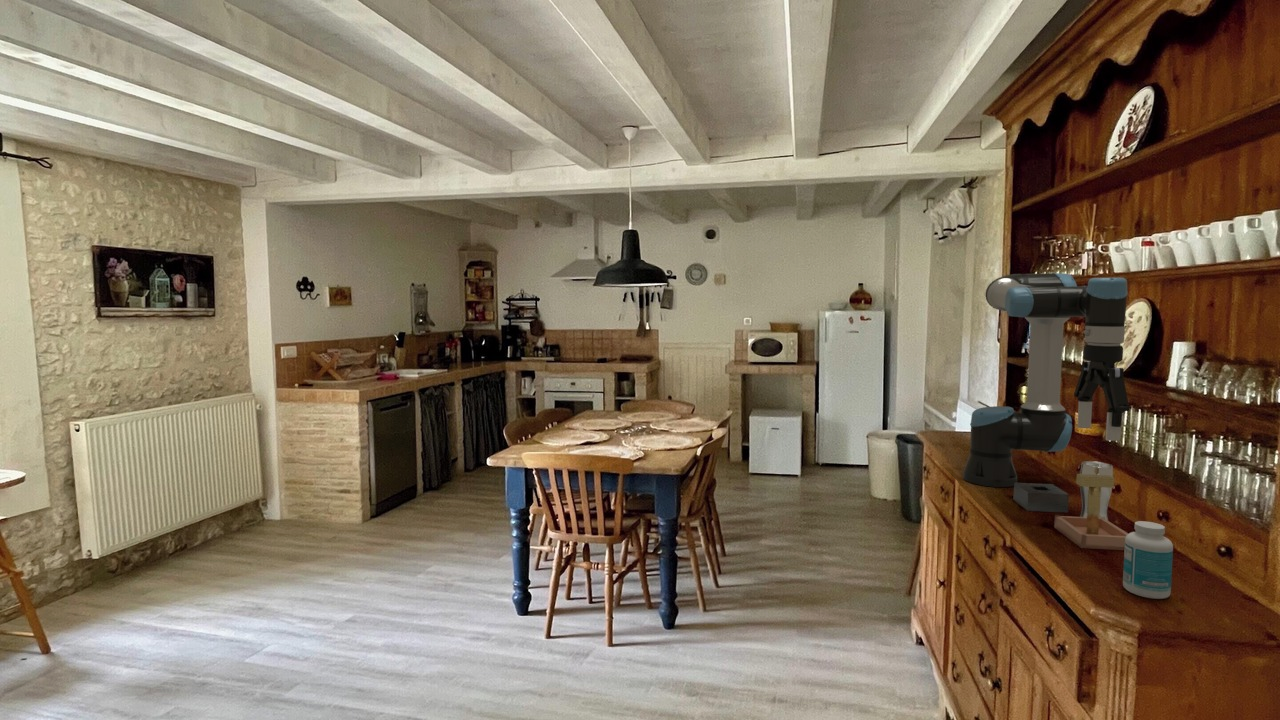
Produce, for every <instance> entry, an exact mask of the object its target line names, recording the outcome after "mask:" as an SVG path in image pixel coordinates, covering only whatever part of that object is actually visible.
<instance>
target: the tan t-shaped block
mask: <svg viewBox="0 0 1280 720" xmlns="http://www.w3.org/2000/svg"><path fill="white" fill-rule="evenodd" d="M1075 482H1076V483H1075V484H1076V485H1078V486H1079V487H1080V486H1085V487H1089V491H1088V510H1087V529H1086V534H1094V535H1098V534H1099V516H1100V497H1101V487H1107V488H1112V489H1114V488H1115V477H1114V476H1113V477H1112V476H1110V475H1091V474H1080V473H1076V480H1075Z"/></svg>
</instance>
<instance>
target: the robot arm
mask: <svg viewBox="0 0 1280 720" xmlns="http://www.w3.org/2000/svg"><path fill="white" fill-rule="evenodd" d="M1128 295H1129V292H1128V280H1127V279H1126V278H1124V277H1092V278H1090V279H1089V280H1088V282H1087V285H1081V286H1079V285H1077V282H1076V280H1075V279H1074V277H1073V276H1072V275H1070V274H1069V273H1063V272H1062V273H1058V272H1052V273H1050V272H1049V273H1047V272H1045V273H1044V272H1043V273H1012V274H1007V275H1003V276H1000V277H998V278H995V279H994V280H992V282H990V283H989V284H988V286H987V288H986V290H985V300H986V302H987V304H988V305H989V306H990V307H992V308H993V309H995V310H997V311H1003V312H1005V313H1006V314H1007V316H1009V317H1014V318H1015V317H1016V318H1024V319H1026V321H1027V322H1028V323H1029V326H1030V327H1029V342H1028V343H1029V345H1028V346H1029V350H1028V365H1027V366H1028V367H1027V368H1028V369H1027V391H1026V401H1025V402H1024V403H1022V405H1020V411H1015V410H1014V408H1013V407H1011V406H1007V405H1006V406H1005V405H1004V406H1001V405H999V406H986V407H980V408H976V409H975V410H973V412H972V413H971V420H970V441H969V443H970V444H969V456H968V458H967V461H966V464H965V465H964V469H963V471H962V479H963V480H964V481H966V482H968V483H971V484H975V485H979V486H984V487H995V488H1009V487H1014V483H1018V474H1017V472H1016V468H1015V466H1014V462H1013V458H1012V457H1013V456H1012V455H1013V453H1012V452H1013V450H1019V451H1035V452H1046V453H1049V452H1062V451H1064V450H1065V449H1066V448H1067V446H1068V445H1069V443H1070V440H1071V437H1072V431H1073V424H1072V423H1073V420H1072V417H1071V415H1070V414H1068V413H1066V408H1065V407H1064V406H1063V405H1062V404H1061V383H1062V381H1061V379H1062V362H1063V359H1062V358H1063V343H1064V340H1063V339H1064V324H1065V323H1066V322H1067V321H1068V320H1070V319H1071V318H1085V322H1084V324H1085V325H1084V326H1085V327H1084V328H1085V329H1083V331H1082V332H1083V334H1084V342H1085V343H1087V344H1085V345H1084V346H1083V355H1082V359H1083V360H1084V361H1082V363H1081V370H1080V374H1079V377H1078V380H1077V384H1076V385H1075V386H1076V387H1075V390H1074V393H1073V396H1074V397H1075V398H1077V399H1076V400H1077V401H1078V407H1077V408H1078V409H1077V421H1076V423H1077V425H1076V428H1078V429H1092V414H1093V402H1094V399H1093V396H1094V394H1095V392H1096V391H1097V389H1098V387H1100V388H1102V390H1103V394H1104V397H1105V400H1106V403H1107V406H1108V409H1106V425H1105V441H1108V442H1111V441H1113V442H1121V438H1122V424H1123V413H1125V412H1129V411H1130V404H1129V400H1128V399H1129V398H1128V393H1127V389H1126V384H1125V377H1124V376H1125V375H1124V372H1125V371H1124V370H1125V369H1124V368H1123V367H1116V363H1120V362H1123V357H1124V347H1123V345H1121V344H1123V343H1124V342H1125V334H1126V333H1125V330H1126V325H1125V324H1126V313H1127V298H1128V297H1127V296H1128Z"/></svg>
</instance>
